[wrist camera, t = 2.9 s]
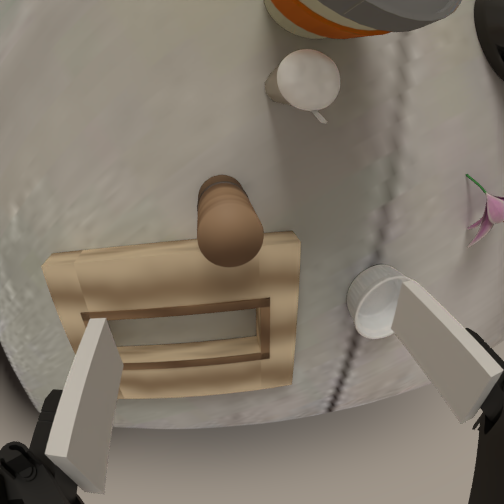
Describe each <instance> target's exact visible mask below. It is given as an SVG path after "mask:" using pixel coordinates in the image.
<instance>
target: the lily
mask: <svg viewBox="0 0 504 504" xmlns="http://www.w3.org/2000/svg"><path fill="white" fill-rule="evenodd" d="M466 176H467V177H468V178H469V179H471V180H472V181H473V182H474V183H475V184H477V185H478V186H479V187H480V188H481V189H482V190H483V192H484V193H485V194H486V196H487V202H486V208H485V212H484V214H483V217H482V218H481V219H480V220H479V221H477V222H476V223H474V224H473V225H471V226H470V227H468V228H467V229H473V228H476V227H478V226H479V225H480V224H481V226H480V228H479V231H478V233H477V235H476V236H475V238H474V239H473V240H472V242H471V243H470V244H469V245H468V247H470V246H472V245H473V244H475V243H476V242H478V241H479V240H480V239H482V238H483V237H484V236H485V235H486V234H487V233H488V232H489V231H490V230H491V228H492V227H493V225H494V224H496V223H501V222H504V197H497V196H491V195H489V194H488V193H487V192H486V191H485V190H484V188H483V187H482V186H481V185H480V184H479V183H477V182H476V181H475V180H474V179H473V178H471V177H470V176H469V175H468V174H466ZM481 222H482V223H481ZM468 247H467V248H468Z"/></svg>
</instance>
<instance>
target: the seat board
mask: <svg viewBox="0 0 504 504" xmlns="http://www.w3.org/2000/svg"><path fill="white" fill-rule="evenodd" d="M300 252H301V242H300V241H299V239H298V238H297V236H296V235H295V234H294V232H293V231H284V232H272V233H264V239H263V244H262V247H261V249H260V251H259V252H258V254H257V255H256V256H255V257H254V258H253V259H252V260H250V261H249V262H247V263H246V264H243V265H241V266H237V267H221V266H218V265H215V264H213V263H211V262H210V261H209V260H207V259H206V258H205V257H204V256H203V254H202V253H201V251H200V249H199V246H198V241H197V239H191V240H180V241H169V242H159V243H149V244H138V245H128V246H118V247H109V248H99V249H90V250H80V251H71V252H62V253H53V254H51V256H50V257H49V258H48V259H47V260H46V261H45V263H44V264H43V265H42V266H41V267H42V270H43V273H44V276H45V279H46V282H47V285H48V288H49V291H50V294H51V297H52V299H53V302H54V305H55V307H56V310H57V312H58V315H59V318H60V320H61V322H62V325H63V327H64V330H65V332H66V334H67V337H68V339H69V341H70V344H71V346H72V348H73V350H74V352H75V355H76V353H77V350H78V347H79V345H80V342H81V340H82V337H83V335H84V332H85V330H86V327H87V325H88V322H89V320H90V319H94V318H106V319H107V320H121V319H138V318H154V317H168V316H181V315H193V314H204V313H215V312H225V311H235V310H244V309H253V308H256V333H257V336H252V337H243V338H234V339H225V340H215V341H204V342H192V343H179V344H164V345H147V346H124V347H117V349H118V352H119V355H120V357H121V360H122V362H123V365H124V366H123V371H122V376H121V381H120V386H119V391H118V397H117V399H148V398H175V397H192V396H205V395H217V394H227V393H236V392H244V391H252V390H260V389H267V388H274V387H280V386H286V385H292V377H293V365H294V353H295V339H296V325H297V310H298V293H299V274H300Z"/></svg>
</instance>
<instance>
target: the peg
mask: <svg viewBox="0 0 504 504" xmlns="http://www.w3.org/2000/svg"><path fill="white" fill-rule="evenodd" d="M197 211H198V223H197V241H198V246H199V249H200V251H201V253H202V254H203V256H204V257H205V258H206V259H207V260H209V261H210V262H211V263H213V264H215V265H218V266H221V267H237V266H241V265H243V264H246V263H247V262H249V261H250V260H252V259H253V258H254V257H255V256H256V255H257V254H258V252H259V251H260V249H261V247H262V244H263V239H264V231H263V227H262V224H261V222H260V220H259V218H258V216H257V214H256V212H255V211H254V209H253V207H252V205H251V203H250V201H249V198H248V196H247V194H246V192H245V191H244V190H243V188H242V186H241V184H240V183H239V182H238V181H237V180H236V179H234V178H232V177H230V176H227V175H217V176H214V177H211V178H209V179H208V180H207V181H205V182H204V184H203V185H202V186H201V188H200V191H199V195H198V205H197Z"/></svg>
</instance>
